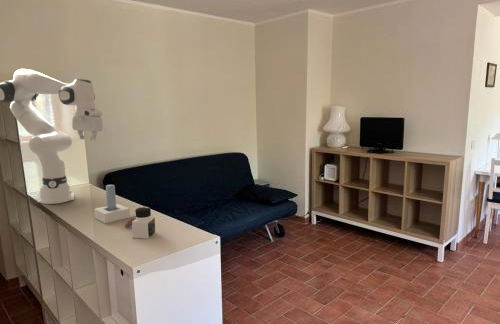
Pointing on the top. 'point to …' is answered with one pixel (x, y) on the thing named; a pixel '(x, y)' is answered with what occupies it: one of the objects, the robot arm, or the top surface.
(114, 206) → the peg
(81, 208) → the top surface
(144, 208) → the medicine bottle
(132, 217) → the video game controller
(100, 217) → the socket block
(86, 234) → the top surface
